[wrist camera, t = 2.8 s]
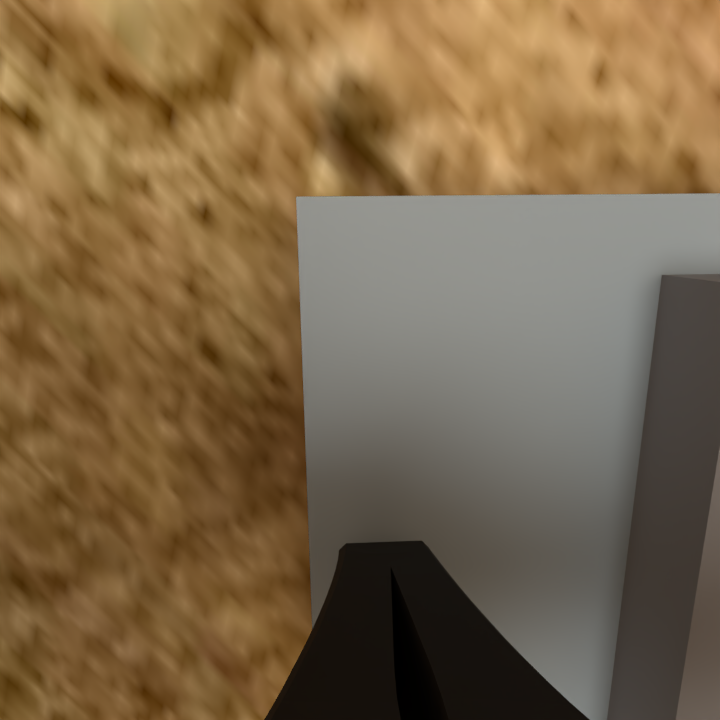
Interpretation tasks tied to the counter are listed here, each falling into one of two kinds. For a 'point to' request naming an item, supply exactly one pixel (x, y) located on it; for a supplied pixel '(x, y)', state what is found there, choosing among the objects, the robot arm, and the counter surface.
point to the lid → (529, 422)
